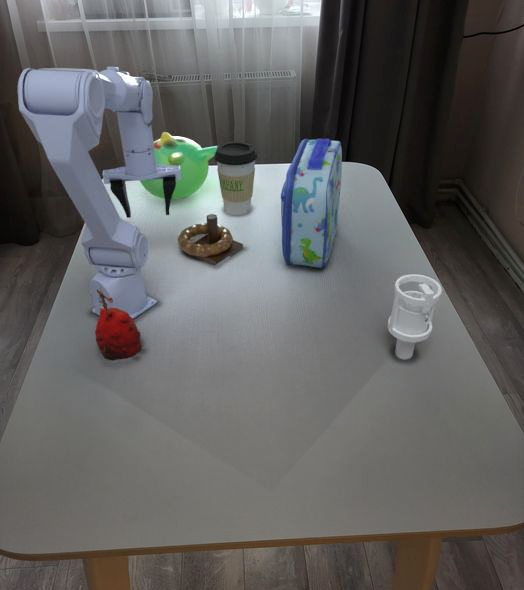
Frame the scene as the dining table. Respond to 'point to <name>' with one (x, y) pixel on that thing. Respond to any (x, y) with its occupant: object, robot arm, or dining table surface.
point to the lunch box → (311, 203)
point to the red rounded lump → (116, 332)
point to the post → (213, 238)
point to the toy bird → (180, 164)
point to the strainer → (412, 313)
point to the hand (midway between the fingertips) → (148, 214)
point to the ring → (204, 249)
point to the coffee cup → (236, 175)
